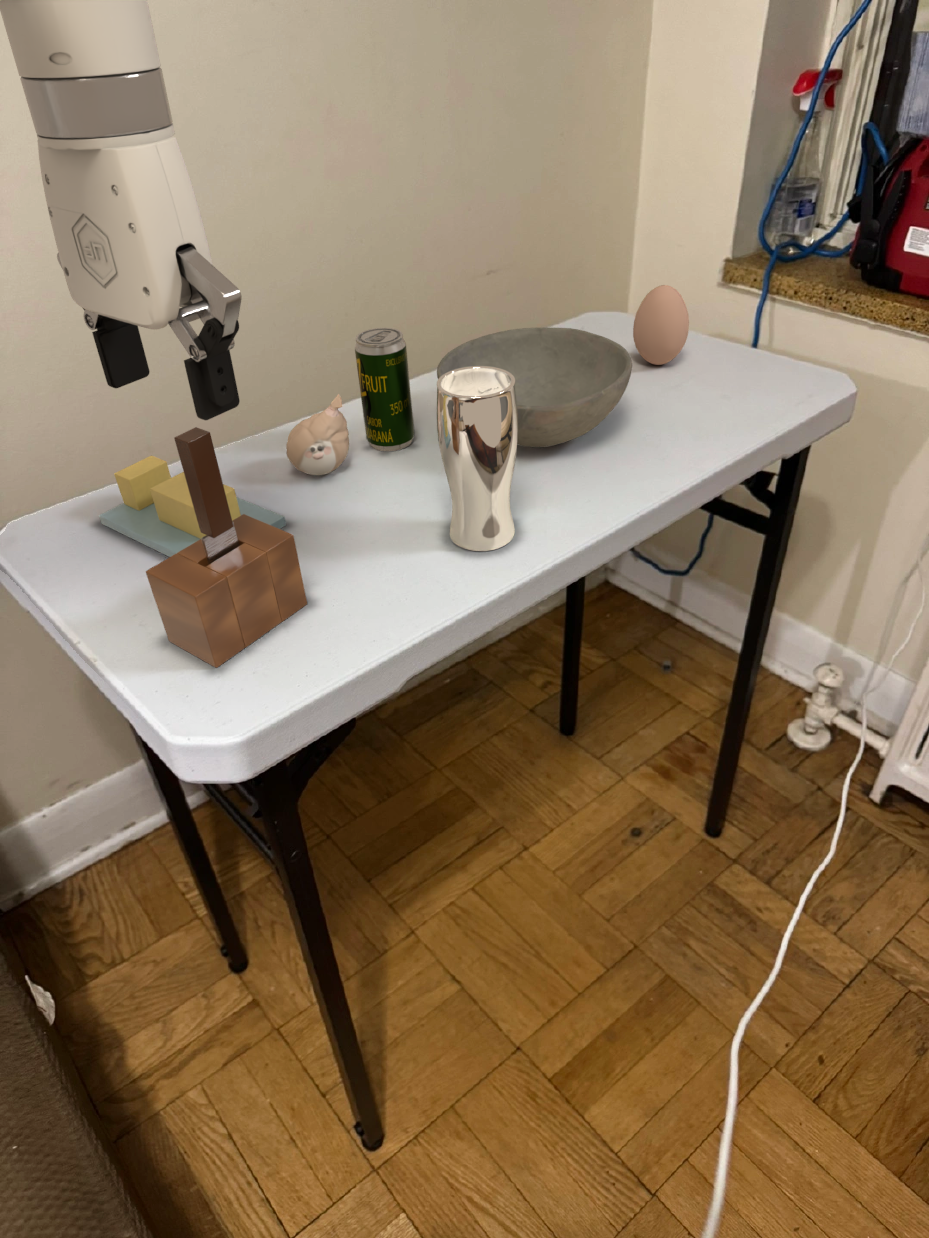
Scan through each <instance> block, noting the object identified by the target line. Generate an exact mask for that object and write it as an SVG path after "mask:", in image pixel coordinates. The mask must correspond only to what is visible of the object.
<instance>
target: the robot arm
mask: <svg viewBox="0 0 929 1238" xmlns="http://www.w3.org/2000/svg"><path fill="white" fill-rule="evenodd" d="M0 15H1V17H2V21H3V25H4V28H5V32H6V35H7V38H8V42H9V46H10V48H11V49H10V50H11V52H12V55H13V59H14V63H15V66H16V69H17V73H18V76H19V78H20V83H21V85H22V89H23V93H24V96H25V100H26V103H27V106H28V110H29V113H30V117H31V121H32V124H33V127H34V131H35V134H36V137H37V150H38V161H39V168H40V174H41V181H42V185H43V186H42V187H43V191H44V197H45V202H46V205H47V211H48V215H49V220H50V224H51V228H52V232H53V236H54V240H55V245H56V249H57V253H56V258H57V261H58V264H59V266H60V268H61V270H62V272H63V275H64V279H65V281H66V285H67V288H68V291H69V294H70V297H71V299H72V301H74V302H75V304H77V305H78V306H79V307H80V308H82V309H83V320H84V324H85V325H86V327H87V328H88V329H89V330H91V331H92V332H91V333H92V336H93V340H94V342H95V343H94V344H95V347H96V350H97V354H98V356H99V360H100V364H101V367H102V370H103V374H104V377H105V381H106V384H107V386H108V387H110V388H113V389H119V388H122V387H124V386H127V385H129V384H132V383H134V382H137V381H140V380H143V379H145V378H147V377H149V375H150V368H149V364H148V360H147V356H146V352H145V349H144V345H143V341H142V337H141V333H140V330H139V327H140V328H144V329H149V330H160V329H163V328H166V327H167V326H168V325H169V327H170V329H171V330H172V332H173V333H174V334H175V336H176V338H177V339H178V341H179V342H180V343H181V345H182V346H183V348H184V349H185V351H186V353H187V354H188V355H189V357H188V358H186V359H184V360H183V363H184V368H185V372H186V377H187V380H188V385H189V389H190V393H191V398H192V403H193V407H194V411H195V415H196V418H198V419H200V420H203V421H209V420H212V419H213V418H215V417H217V416H220V415H222V414H225V413H226V412H228V411H231V410H233V409H236V408H237V407H239V405H240V396H239V389H238V385H237V381H236V375H235V370H234V366H233V365H234V364H233V360H232V356H231V355H232V354H231V351H230V350H232V349H234V348H235V337H236V335H237V333H238V332H239V331H240V322H239V317H240V312H241V311H240V310H241V306H242V305H241V304H242V293H241V290H240V289H239V287H238V286H237V285H235V284H234V283H233V282H232V281H231V280H230V279H229V278H228V277H226V276H225V274H223V273H222V272H221V271H220V270H219V269H218V268H217V267H216V266H214V263H213V260H212V254H211V250H210V246H209V242H208V237H207V233H206V230H205V226H204V221H203V218H202V215H201V211H200V206H199V203H198V200H197V197H196V193H195V189H194V186H193V183H192V180H191V177H190V173H189V170H188V167H187V165H186V161H185V159H184V156H183V153H182V150H181V148H180V146H179V142H178V140H177V137H176V136H175V135H176V131H175V127H174V123H173V117H172V111H171V108H170V102H169V96H168V92H167V88H166V83H165V79H164V72H163V68H161V67H162V64H161V60H160V54H159V50H158V46H157V45H158V44H157V41H156V35H155V30H154V26H153V22H152V16H151V12H150V7H149V2H148V0H0ZM197 320H200V321H201V323H202V324H203V326H202V328H201V330H200V332H199V334H197V333H196V331H195V329H194V328H193V326H192V325H191V322H194V321H197Z"/></svg>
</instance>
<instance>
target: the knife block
mask: <svg viewBox="0 0 929 1238" xmlns="http://www.w3.org/2000/svg"><path fill="white" fill-rule="evenodd" d="M233 523H234V527H235V531H236V535H237V539H238V543H239V547H237V548H236V549H234V550H232V551H231V552H229V553H227V554H226V555H224V556H222V557H221V558H219V559H217V560H216V561H214V562H212V563H211V564H209V565H208V562H207V558H206V554H205V551H204V547H203V544H202V540H201V539H200V540H198V541H197V542H195V543H193V544H191V545H190V546H188V547H186V548H185V549H183V550H181V551H179V552H178V553H177V554H174V555H173V556H171V557H169V556H168V558H166V559H164V560H163V561H160V562H159V563H157V564H156V565H154V566H152V567H150V568H149V569H147V570H145V575H146V577H147V580H148V583H149V586H150V589H151V593H152V595H153V598H154V601H155V604H156V607H157V611H158V614H159V616H160V619H161V622H162V625H163V628H164V632H165V634H166V637H167V640H168V642H170V643H171V644H173V645H174V646H176V647H178V648H180V649H182V650H183V651H186V652H187V653H189V654H191V656H192V655H193V656H194V657H196V658H197V659H200V660H202V661H203V662H204V663H207V664H208V665H210V666H212V667H214V668H216V669H217V668H219V667H220V666H222V665H223V664H224V663H226V662H227V661H229V660H230V659H232V658H233V657H234V656H236V655H237V654H239V653H240V652H242V651H243V650H244V649H245V648H247V647H249V646H251V644H253V643H254V642H256V641H257V640H259V639H260V638H261V637H263V636H264V635H266V634H267V633H269V632H270V631H271V630H273V629H274V628H276V627H277V626H278V625H280V624H282V622H284V621H287V619H288V618H290V617H291V616H293V615H295V613H297V612H298V611H300V610H301V609H303V608H304V607H306V606H307V605H308V600H307V594H306V590H305V585H304V580H303V575H302V570H301V566H300V561H299V555H298V550H297V545H296V540H295V536H294V534H293V533H291V532H288V531H286V530H283V529H282V528H281V529H278V528H276V527H274V526H271V525H269V524H266V523H264V522H262V521H259V520H257V519H254V518H252V517H250V516H247V515H245V514H243V515H241V516H239V517H238V518H236V519H234V520H233Z"/></svg>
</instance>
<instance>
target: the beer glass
mask: <svg viewBox="0 0 929 1238" xmlns="http://www.w3.org/2000/svg"><path fill="white" fill-rule="evenodd" d="M436 427H437V428H436V429H437V439H438V446H439V451H440V456H441V460H442V465H443V469H444V472H445V473H444V474H445V477H446V480H447V483H448V488H449V492H450V498H451V520H450V523H449V537H450V540H451V542H453V544H455V545H456V546H457V547H459V548H462V549H464V550H468V551H472V552H489V551H494V550H498V549H500V548H502V547H505V546H506V545H507V544H509V543H510V542H511V541H512V540H513V539H514V537H515V533H516V530H515V523H514V519H513V515H512V510H511V500H510V498H511V488H512V483H513V475H514V471H515V465H516V459H517V453H518V446H519V445H518V409H517V398H516V389H515V378H514V376H513V375H512V374H511V373H510V372H508V371H506V370H503V369H500V368H496V367H489V366H470V367H463V368H458V369H455V370H452V371H449V372H447V373H445V374H443V375H442V376H441V377H440V378H439V379H438V378H437V380H436Z"/></svg>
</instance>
